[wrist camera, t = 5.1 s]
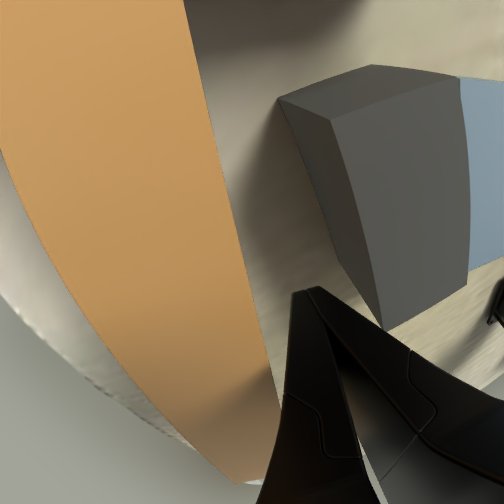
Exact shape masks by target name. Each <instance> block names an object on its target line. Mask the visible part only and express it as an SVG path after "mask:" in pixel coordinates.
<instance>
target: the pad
mask: <svg viewBox="0 0 504 504" xmlns="http://www.w3.org/2000/svg"><path fill="white" fill-rule="evenodd" d="M457 81H458V86H459V91H460V97H461V103H462V109H463V115H464V122H465V130H466V138H467V147H468V159H469V173H470V200H471V223H470V250H469V265H468V271H470V270H472V269H475V268H477V267H479V266H482V265H484V264H486V263H488V262H491V261H493V260H495V259H497V258H500V257H502V256H504V82H501V81H494V80H486V79H477V78H467V77H457Z"/></svg>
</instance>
